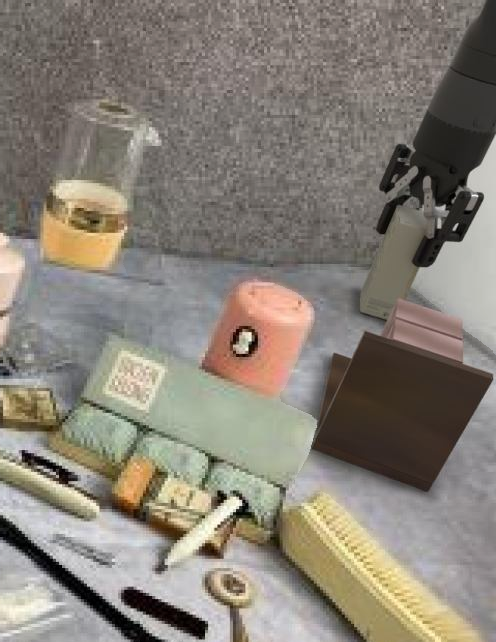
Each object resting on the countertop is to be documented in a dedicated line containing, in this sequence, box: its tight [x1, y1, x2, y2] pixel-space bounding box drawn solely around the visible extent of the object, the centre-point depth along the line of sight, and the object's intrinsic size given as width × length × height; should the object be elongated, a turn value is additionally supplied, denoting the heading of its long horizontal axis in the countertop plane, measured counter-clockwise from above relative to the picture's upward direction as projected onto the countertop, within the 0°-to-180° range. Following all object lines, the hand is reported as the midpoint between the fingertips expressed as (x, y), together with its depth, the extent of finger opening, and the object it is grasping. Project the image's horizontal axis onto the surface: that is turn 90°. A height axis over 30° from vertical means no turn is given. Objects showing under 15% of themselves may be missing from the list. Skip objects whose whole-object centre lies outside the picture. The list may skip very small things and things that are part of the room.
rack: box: [311, 298, 494, 492], centre depth 91 cm, size 18×11×13 cm, turn 158°
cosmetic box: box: [359, 205, 427, 321], centre depth 112 cm, size 6×4×12 cm
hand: (401, 248), depth 111 cm, fingers closed on cosmetic box, 7 cm apart
